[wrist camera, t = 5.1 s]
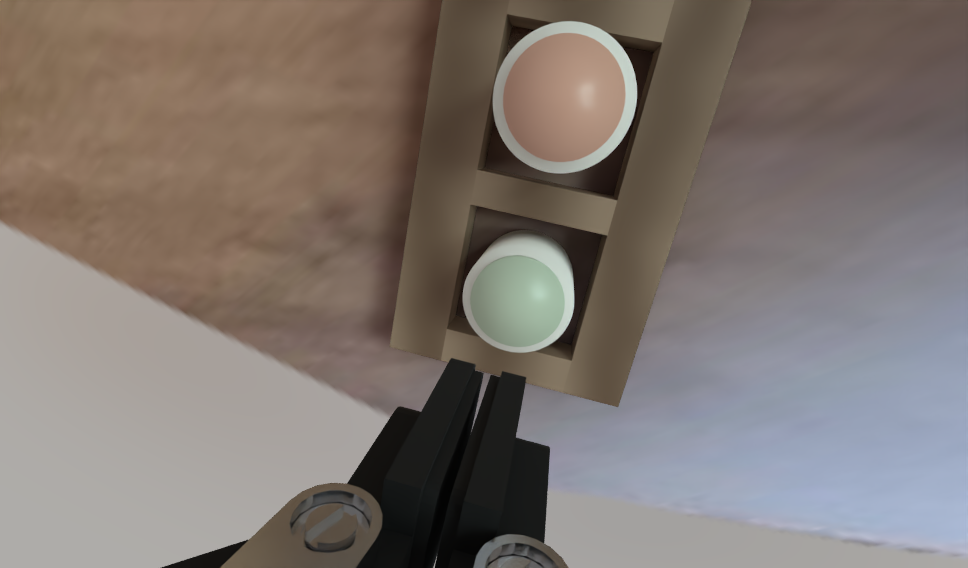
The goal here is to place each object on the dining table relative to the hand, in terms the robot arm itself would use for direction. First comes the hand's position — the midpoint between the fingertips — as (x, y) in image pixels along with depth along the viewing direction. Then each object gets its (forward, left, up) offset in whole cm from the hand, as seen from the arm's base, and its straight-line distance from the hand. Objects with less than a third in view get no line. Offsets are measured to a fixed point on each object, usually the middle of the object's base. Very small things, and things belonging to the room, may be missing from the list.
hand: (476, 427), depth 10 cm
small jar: (0, -8, -12) cm, 14 cm away
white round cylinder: (0, 0, -14) cm, 14 cm away
